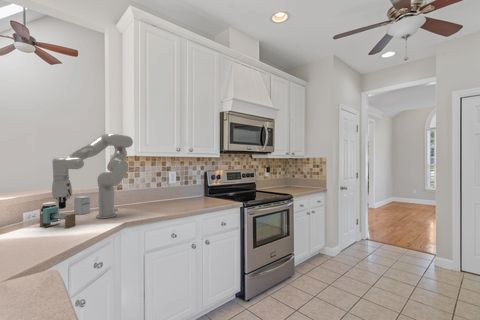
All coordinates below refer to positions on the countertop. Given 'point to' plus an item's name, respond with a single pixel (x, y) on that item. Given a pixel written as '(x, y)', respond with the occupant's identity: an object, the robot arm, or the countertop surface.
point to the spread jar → (48, 205)
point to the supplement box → (82, 205)
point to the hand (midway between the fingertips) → (62, 208)
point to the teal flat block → (47, 214)
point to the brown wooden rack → (68, 218)
